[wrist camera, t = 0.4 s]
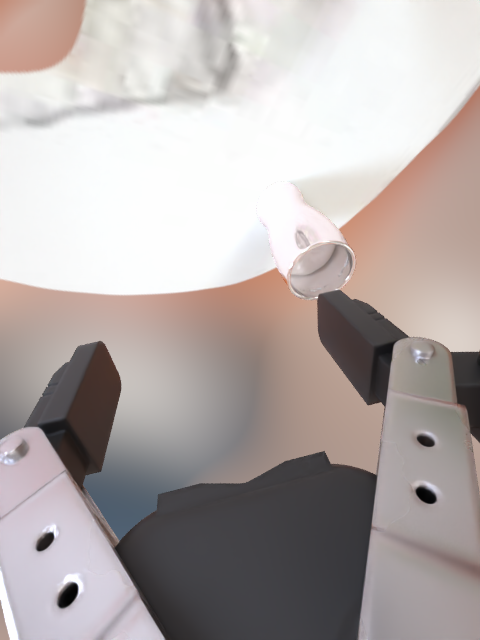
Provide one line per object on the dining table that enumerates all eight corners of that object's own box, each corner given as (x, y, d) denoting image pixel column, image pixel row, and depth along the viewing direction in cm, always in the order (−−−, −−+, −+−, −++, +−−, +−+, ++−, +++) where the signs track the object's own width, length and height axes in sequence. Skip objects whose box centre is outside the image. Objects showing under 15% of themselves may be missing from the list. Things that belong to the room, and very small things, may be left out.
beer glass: (243, 221, 39) (271, 293, 28) (268, 167, 34) (312, 227, 24) (288, 237, 41) (329, 308, 31) (316, 189, 37) (374, 252, 27)
